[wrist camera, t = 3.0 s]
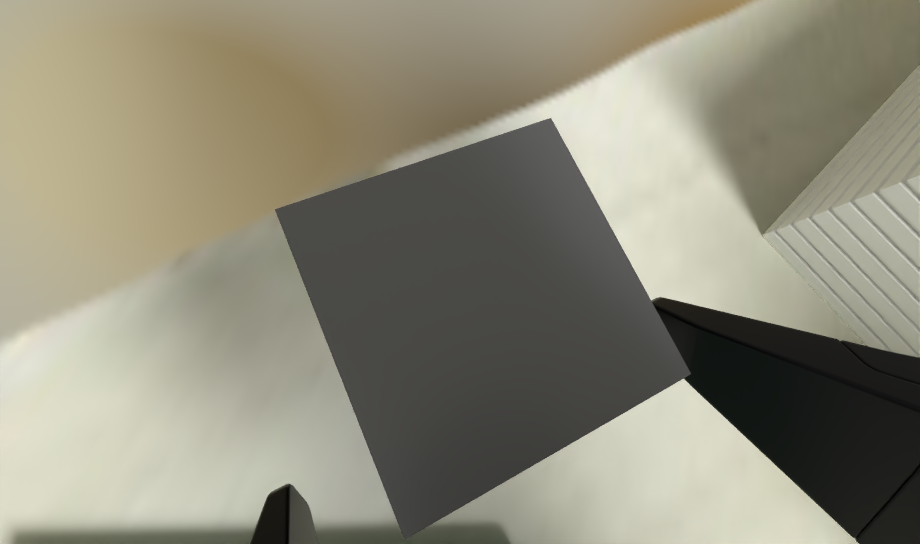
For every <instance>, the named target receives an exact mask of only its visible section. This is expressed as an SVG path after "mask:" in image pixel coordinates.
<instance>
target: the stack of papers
mask: <svg viewBox="0 0 920 544" xmlns="http://www.w3.org/2000/svg"><path fill="white" fill-rule="evenodd" d="M762 236H763V237H764V238H765V239H766V240H767V241H768V242H769V244H770V245H771V246H772V247H773V248H774V249H775V250H776V251H777V252H778V253H779V254H780V255H781V256H782V257H783V258H784V259H785V260H786V261H787V262H788V263H789V264H790V265H791V266H792V268H793V269H794V270H795V271H796V272H797V273H798V274H799V275H800V276H801V277H802V278H803V279H804V280H805V281H806V282H807V283H808V284H809V285H810V286H811V287H812V288H813V289H814V290H815V292H816V293H817V294H818V295H819V296H820V297H821V298H822V299H823V300H824V301H825V302H826V303H827V304H828V305H829V306H830V307H831V308H832V309H833V310H834V311H835V312H836V313H837V314H838V316H839V317H840V318H841V319H842V320H843V321H844V322H845V323H846V324H847V325H848V326H849V327H850V328H851V329H852V330H853V331H854V332H855V333H856V334H857V335H858V336H859V337H860V339H861V340H862V341H863V342H864V343H865V344H866V345H867V346H868V347H873V348H877V349H882V350H886V351H890V352H895V353H900V354H905V355H910V356H915V357H920V64H919V66H918V67H917V68H916V69H915V70H914V71H913V72H912V73H911V74H910V75H909V76H908V78H907V79H906V80H905V81H904V82H903V83H902V84H901V85H900V86H899V87H898V88H897V89H896V91H895V92H894V93H893V94H892V95H891V96H890V97H889V98H888V99H887V100H886V101H885V102H884V104H883V105H882V106H881V107H880V108H879V109H878V110H877V111H876V112H875V113H874V114H873V115H872V117H871V118H870V119H869V120H868V121H867V122H866V123H865V124H864V125H863V126H862V127H861V128H860V130H859V131H858V132H857V133H856V134H855V135H854V136H853V137H852V138H851V139H850V140H849V141H848V143H847V144H846V145H845V146H844V147H843V148H842V149H841V150H840V151H839V152H838V153H837V154H836V156H835V157H834V158H833V159H832V160H831V161H830V162H829V163H828V164H827V165H826V166H825V168H824V169H823V170H822V171H821V172H820V173H819V174H818V175H817V176H816V177H815V178H814V179H813V181H812V182H811V183H810V184H809V185H808V186H807V187H806V188H805V189H804V190H803V191H802V192H801V194H800V195H799V196H798V197H797V198H796V199H795V200H794V201H793V202H792V203H791V204H790V205H789V207H788V208H787V209H786V210H785V211H784V212H783V213H782V214H781V215H780V216H779V217H778V218H777V220H776V221H775V222H774V223H773V224H772V225H771V226H770V227H769V228H768V229H767V230H766V231H765V233H764V234H763V235H762Z"/></svg>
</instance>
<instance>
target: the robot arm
mask: <svg viewBox="0 0 920 544" xmlns="http://www.w3.org/2000/svg"><path fill="white" fill-rule="evenodd" d="M651 302H652V303H653V305H654V307H655V309H656V311H657V313H658V314H659V316H660V318H661V320H662V322H663V323H664V325H665V327H666V329H667V331H668V333H669V334H670V336H671V338H672V340H673V342H674V343H675V345H676V347H677V349H678V351H679V353H680V354H681V356H682V358H683V360H684V362H685V364H686V365H687V367H688V369H689V371H690V373H691V374H690V375H689V376H687V377H685V378H684V379H685V380H686V381H687V382H688V383H689V384H690V385H691V386H692V387H693V388H694V389H695V390H696V391H697V392H698V393H699V394H700V395H701V396H702V397H704V398H705V399H706V400H707V401H708V402H709V403H710V404H711V405H712V406H713V407H714V408H715V409H716V410H717V411H718V412H720V413H721V414H722V415H723V416H724V417H725V418H726V419H727V420H728V421H729V422H730V423H731V424H732V425H733V426H734V427H736V428H737V429H738V430H739V431H740V432H741V433H742V434H743V435H744V436H745V437H746V438H747V439H748V440H749V441H750V442H752V443H753V444H754V445H755V446H756V447H757V448H758V449H759V450H760V451H761V452H762V453H763V454H764V455H765V456H766V457H768V458H769V459H770V460H771V461H772V462H773V463H774V464H775V465H776V466H777V467H778V468H779V469H780V470H781V471H782V472H784V473H785V474H786V475H787V476H788V477H789V478H790V479H791V480H792V481H793V482H794V483H795V484H796V485H797V486H798V487H800V488H801V489H802V490H803V491H804V492H805V493H806V494H807V495H808V496H809V497H810V498H811V499H812V500H813V501H815V502H816V503H817V504H818V505H819V506H820V507H821V508H822V509H823V510H824V511H825V512H826V513H827V514H828V515H829V516H831V517H832V518H833V519H834V520H835V521H836V522H837V523H838V524H839V525H840V526H841V527H842V528H843V529H844V530H845V531H847V532H848V533H849V534H850V535H851V536H852V537H853V538H855V540H856V541H857V542H858V543H859V544H920V357H915V356H910V355H905V354H900V353H895V352H890V351H886V350H882V349H877V348H873V347H868V346H864V345H860V344H855V343H851V342H847V341H839V340H838V339H834V338H830V337H826V336H822V335H817V334H813V333H809V332H805V331H801V330H796V329H792V328H788V327H784V326H780V325H776V324H771V323H767V322H763V321H759V320H755V319H750V318H746V317H742V316H738V315H734V314H730V313H725V312H721V311H717V310H713V309H709V308H704V307H700V306H696V305H692V304H688V303H683V302H679V301H675V300H671V299H667V298H662V297H659V298H655V299H653V300H651ZM250 544H318V541H317V537H316V533H315V528H314V524H313V519H312V515H311V511H310V508H309V506H308V504H307V502H306V501H305V500H304V498H303V497H302V496H301V495H300V494H299V492H298V491H297V490H296V489H295V488H294V486H293V485H291V484H286V485H284V486H282V487H280V488H278V489H276V490H274V491H272V492H271V493H270V494H269V495H268V497H267V499H266V501H265V504H264V507H263V509H262V512H261V515H260V517H259V520H258V523H257V525H256V528H255V531H254V533H253V536H252V539H251V541H250Z"/></svg>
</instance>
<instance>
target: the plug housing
mask: <svg viewBox="0 0 920 544" xmlns="http://www.w3.org/2000/svg"><path fill="white" fill-rule="evenodd" d="M275 211H276V213H277V216H278V218H279V221H280V224H281V226H282V229H283V231H284V234H285V236H286V239H287V241H288V244H289V246H290V249H291V252H292V254H293V257H294V259H295V262H296V264H297V267H298V269H299V272H300V275H301V277H302V280H303V282H304V285H305V287H306V290H307V292H308V295H309V297H310V300H311V303H312V305H313V308H314V310H315V313H316V315H317V318H318V320H319V323H320V325H321V328H322V331H323V333H324V336H325V338H326V341H327V343H328V346H329V348H330V351H331V353H332V356H333V359H334V361H335V364H336V366H337V369H338V371H339V374H340V376H341V379H342V381H343V384H344V387H345V389H346V392H347V394H348V397H349V399H350V402H351V404H352V407H353V410H354V412H355V415H356V417H357V420H358V422H359V425H360V427H361V430H362V432H363V435H364V438H365V440H366V443H367V445H368V448H369V450H370V453H371V455H372V458H373V460H374V463H375V466H376V468H377V471H378V473H379V476H380V478H381V481H382V483H383V486H384V488H385V491H386V494H387V496H388V499H389V501H390V504H391V506H392V509H393V511H394V514H395V516H396V519H397V522H398V524H399V527H400V529H401V532H402V534H403V537H404V539H407V538H408V537H410V536H412V535H414V534H415V533H417V532H419V531H421V530H422V529H424V528H426V527H427V526H429V525H431V524H433V523H434V522H436V521H438V520H440V519H441V518H443V517H445V516H446V515H448V514H450V513H452V512H453V511H455V510H457V509H459V508H460V507H462V506H464V505H465V504H467V503H469V502H471V501H472V500H474V499H476V498H478V497H479V496H481V495H483V494H485V493H486V492H488V491H490V490H491V489H493V488H495V487H497V486H498V485H500V484H502V483H504V482H505V481H507V480H509V479H510V478H512V477H514V476H516V475H517V474H519V473H521V472H523V471H524V470H526V469H528V468H529V467H531V466H533V465H535V464H536V463H538V462H540V461H542V460H543V459H545V458H547V457H548V456H550V455H552V454H554V453H555V452H557V451H559V450H561V449H562V448H564V447H566V446H568V445H569V444H571V443H573V442H574V441H576V440H578V439H580V438H581V437H583V436H585V435H587V434H588V433H590V432H592V431H593V430H595V429H597V428H599V427H600V426H602V425H604V424H606V423H607V422H609V421H611V420H612V419H614V418H616V417H618V416H619V415H621V414H623V413H625V412H626V411H628V410H630V409H631V408H633V407H635V406H637V405H638V404H640V403H642V402H644V401H645V400H647V399H649V398H650V397H652V396H654V395H656V394H657V393H659V392H661V391H663V390H664V389H666V388H668V387H670V386H671V385H673V384H675V383H676V382H678V381H680V380H682V379H683V378H685V377H687V376H689V375H690V374H691V373H690V371H689V369H688V367H687V365H686V364H685V362H684V360H683V358H682V356H681V354H680V353H679V351H678V349H677V347H676V345H675V343H674V342H673V340H672V338H671V336H670V334H669V333H668V331H667V329H666V327H665V325H664V323H663V322H662V320H661V318H660V316H659V314H658V313H657V311H656V309H655V307H654V305H653V303H652V302H651V300H650V298H649V296H648V294H647V292H646V291H645V289H644V287H643V285H642V283H641V282H640V280H639V278H638V276H637V274H636V272H635V271H634V269H633V267H632V265H631V263H630V261H629V260H628V258H627V256H626V254H625V252H624V251H623V249H622V247H621V245H620V243H619V241H618V240H617V238H616V236H615V234H614V232H613V230H612V229H611V227H610V225H609V223H608V221H607V220H606V218H605V216H604V214H603V212H602V210H601V209H600V207H599V205H598V203H597V201H596V199H595V198H594V196H593V194H592V192H591V190H590V189H589V187H588V185H587V183H586V181H585V179H584V178H583V176H582V174H581V172H580V170H579V169H578V167H577V165H576V163H575V161H574V159H573V158H572V156H571V154H570V152H569V150H568V148H567V147H566V145H565V143H564V141H563V139H562V138H561V136H560V134H559V132H558V130H557V128H556V127H555V125H554V123H553V121H552V119H551V118H549V119H546V120H543V121H540V122H537V123H534V124H531V125H528V126H525V127H522V128H519V129H516V130H513V131H510V132H507V133H504V134H501V135H498V136H495V137H492V138H489V139H486V140H483V141H480V142H477V143H474V144H471V145H468V146H465V147H462V148H459V149H456V150H453V151H450V152H447V153H444V154H441V155H438V156H435V157H432V158H429V159H426V160H423V161H420V162H417V163H414V164H411V165H408V166H405V167H402V168H399V169H396V170H393V171H390V172H387V173H384V174H381V175H378V176H375V177H372V178H369V179H366V180H363V181H360V182H357V183H354V184H351V185H348V186H345V187H342V188H339V189H336V190H333V191H330V192H327V193H324V194H321V195H317V196H314V197H311V198H308V199H305V200H302V201H299V202H296V203H293V204H290V205H287V206H284V207H281V208H278V209H275Z"/></svg>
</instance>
